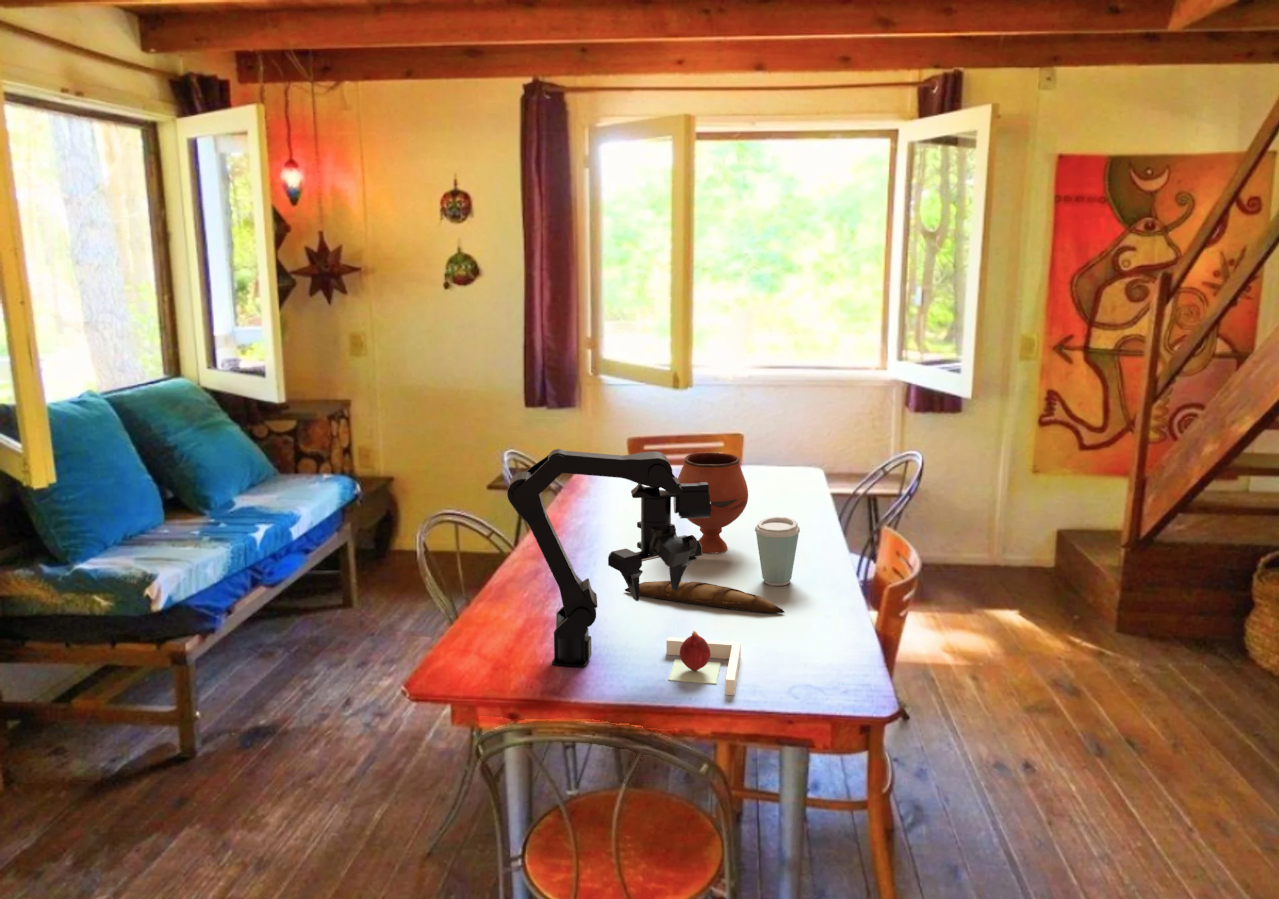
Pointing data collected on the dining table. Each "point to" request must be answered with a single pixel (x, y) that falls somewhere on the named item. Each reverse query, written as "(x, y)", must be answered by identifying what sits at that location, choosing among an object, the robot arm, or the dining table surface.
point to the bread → (707, 596)
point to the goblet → (716, 494)
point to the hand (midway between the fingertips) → (655, 595)
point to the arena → (711, 668)
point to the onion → (695, 652)
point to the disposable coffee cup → (777, 548)
